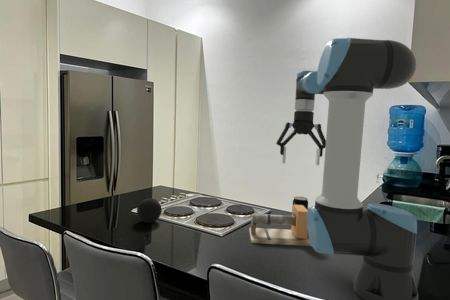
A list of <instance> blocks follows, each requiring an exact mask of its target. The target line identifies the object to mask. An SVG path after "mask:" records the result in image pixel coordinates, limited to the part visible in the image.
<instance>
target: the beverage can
mask: <svg viewBox="0 0 450 300" xmlns="http://www.w3.org/2000/svg"><path fill="white" fill-rule="evenodd" d="M293 205H303V206H304V207H305V208H306V209H307V210H308V208H309V201H308V198H307V197H306V196H294V197H293V200H292V206H291V207H292V209H293ZM292 209H291V210H292Z"/></svg>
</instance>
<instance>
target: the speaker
mask: <svg viewBox="0 0 450 300" xmlns="http://www.w3.org/2000/svg"><path fill="white" fill-rule="evenodd" d="M162 211H163V209H162V205H161V203H160V202H159V201H158V200H157V199H155V198H152V197H151V198H149V197H148V198H145V199H143V200H141V201H140V203H138V205H137V208H136V214H137V216H138V218H139V220H141V221H142V222H144V223H147V224H151V223H153V222H156V221H158V219H160V217H161V215H162Z"/></svg>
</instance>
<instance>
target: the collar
mask: <svg viewBox="0 0 450 300" xmlns="http://www.w3.org/2000/svg"><path fill="white" fill-rule="evenodd" d="M292 206H293V209H291V216H296V226H293V225H290V226H291V228H290V230H292V232H293V233H294V235H295V237H296V238H305V239H307V234H308V229H307V212H308V211H307V209H306V208H305V207H304V206H303V205H293V204H292Z"/></svg>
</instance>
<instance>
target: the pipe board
mask: <svg viewBox="0 0 450 300" xmlns="http://www.w3.org/2000/svg"><path fill="white" fill-rule="evenodd" d="M251 216H252V218H251V221H250V227H249V228H248V232H249V236H250V237H249V238H250V242H251V244H263V245H265V244H266V245H281V246H283V245H286V246H302V247H304V246H305V247H312V245H311V242H310V239H309V235H308V234H307V239H305V238H296V237H295V235H294V233H293V232H292V230H291V229H285V228H284V229H283V228H266V227H265V228H262V227H257V225H259V224H260V225H275V226H276V225H277V226H280V225H281V226H291V225H293V226H296V216H292V215H283V214H269V213H266V214H264V213H252V215H251Z"/></svg>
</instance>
